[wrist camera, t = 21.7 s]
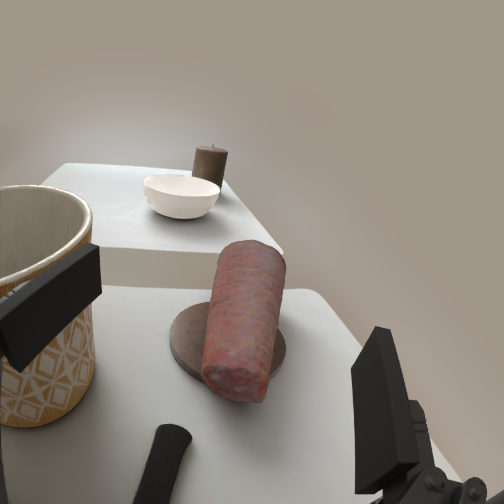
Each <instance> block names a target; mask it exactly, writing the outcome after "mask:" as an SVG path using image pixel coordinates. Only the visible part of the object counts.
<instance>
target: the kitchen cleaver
mask: <svg viewBox="0 0 504 504" xmlns="http://www.w3.org/2000/svg"><path fill="white" fill-rule="evenodd" d="M191 442H192V436H191V434H190V433H189V432H188V431H187V430H186V429H184V428H183V427H181V426H178V425H174V424H163V425H160V426H158V427H157V429H156V432H155V436H154V440H153V443H152V446H151V449H150V452H149V455H148V458H147V461H146V464H145V467H144V470H143V473H142V477H141V480H140V483H139V485H138V488H137V491H136V494H135V497H134V500H133V503H132V504H170V502H171V498H172V494H173V491H174V487H175V484H176V480H177V477H178V474H179V470H180V467H181V464H182V461H183V458H184V455H185V453H186V451H187V449H188V447H189V446H190V444H191Z"/></svg>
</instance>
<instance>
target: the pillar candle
mask: <svg viewBox="0 0 504 504" xmlns="http://www.w3.org/2000/svg"><path fill="white" fill-rule="evenodd" d="M227 154H228V151H227V150H224V149H220V148H214V147H206V146H198V147H196V154H195V160H194V166H193V171H192V177H196V178H200V179H204V180H207V181H209V182H212V183H214V184H216V185H217V186H218V187H219V188H220V192H221V187H222V181H223V176H224V170H225V165H226V159H227ZM219 195H220V194H219Z"/></svg>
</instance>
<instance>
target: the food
mask: <svg viewBox="0 0 504 504" xmlns="http://www.w3.org/2000/svg"><path fill="white" fill-rule="evenodd" d="M285 274H286V264H285V261H284V259H283V257H282V256H281V254H280V253H279V252H278V251H277V250H276V249H275V248H273V247H271V246H268V245H265V244H263V243H261V242H259V241H256V240H245V241H237V242H233V243H231V244H229V245H228V246H226V247H225V248H224V249H223V250H222V252H221V254H220V257H219V259H218V263H217V271H216V274H215V279H214V284H213V288H212V297H211V300H210V307H209V311H208V318H207V324H206V335H205V340H204V349H203V357H202V365H201V375H200V376H201V377H202V378H203V380H204V381H205V383H206V384H207V385H208V386H209V387H210V388H211V389H212V391H213V393H214V394H215V395H217V396H220V397H224V398H226V399H229V400H233V401H246V402H255V403H260V402H262V401H263V399H264V398H265V395H266V390H267V386H268V383H269V381H268V377H269V372H270V367H271V360H272V357H273V348H274V342H275V339H276V332H277V325H278V319H279V314H280V307H281V302H282V295H283V288H284V283H285Z"/></svg>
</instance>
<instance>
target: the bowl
mask: <svg viewBox="0 0 504 504" xmlns="http://www.w3.org/2000/svg"><path fill="white" fill-rule="evenodd" d="M144 193H145V196H146V197H147V200H148V203H149V204H150V206H151V207H152V209H153V210H154V211H156V212H157V213H160V214H162V215H164V216H167V217H171V218H176V219H191V218H197V217H201V216H203V215H205V214H206V213H207V212H208V211H209V210H210V209H211V208H212V206H213V205H214V204H215V203H216V201H217V199H218V196H219V194H220V188H219V187H218V186H217V185H216V184H214V183H212V182H209V181H207V180H204V179H200V178H196V177H191V176H185V175H176V174H161V175H153V176H150V177H147V178H146V179H145V180H144Z"/></svg>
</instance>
